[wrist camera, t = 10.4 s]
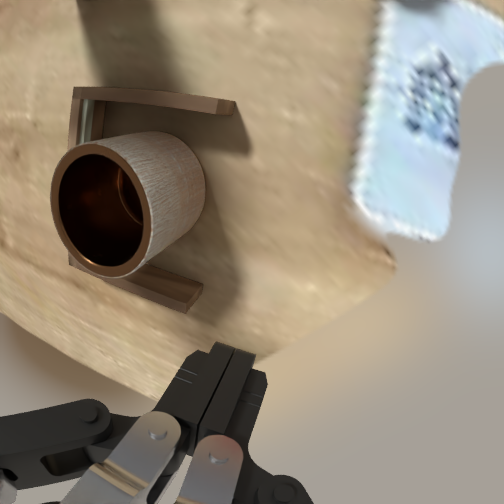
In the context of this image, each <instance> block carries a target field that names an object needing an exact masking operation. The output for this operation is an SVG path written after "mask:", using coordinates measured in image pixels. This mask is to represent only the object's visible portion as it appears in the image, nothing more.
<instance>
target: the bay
mask: <svg viewBox="0 0 504 504" xmlns="http://www.w3.org/2000/svg"><path fill="white" fill-rule="evenodd" d="M106 101H118V102H129V103H139V104H148V105H156V106H164V107H172V108H179V109H186V110H192V111H199V112H205V113H211V114H224V115H233V110H234V105H235V101H230V100H224V99H218V98H211V97H205V96H198V95H190V94H182V93H174V92H165V91H155V90H143V89H130V88H112V87H74V89H73V96H72V104H71V113H70V123H69V135H68V150H67V152H68V151H69V150H70V149H71V148H73V147H75V146H76V145H79V144H82V143H85V142H90V141H95V140H100V139H102V131H103V122H104V114H105V106H106ZM68 256H69V265H71V266H73V267H75V268H77V269H79V270H82V271H84V272H86V273H88V274H90V275H93V276H95V277H97V278H99V279H102V280H104V281H106V282H108V283H111V284H113V285H115V286H118V287H120V288H122V289H125V290H127V291H129V292H132V293H134V294H137V295H139V296H141V297H144V298H146V299H149V300H151V301H154V302H156V303H159V304H161V305H164V306H166V307H169V308H171V309H174V310H177V311H179V312H182V313H184V314H186V312H187V311H188V310H189V309H190V307H191V306H192V305H193V304H194V302H195V301H196V300H197V299H198V297H199V296H200V295H201V293H202V286H203V284H201V283H198V282H195V281H192V280H190V279H187V278H184V277H181V276H178V275H175V274H173V273H170V272H167V271H164V270H162V269H159V268H156V267H153V266H151V265H148V264H144V265H142V266H141V267H140V268H139V269H137V270H136V271H135V272H133V273H131V274H129V275H127V276H125V277H121V278H106V277H102V276H99V275H97V274H94V273H92V272H90V271H89V270H87V269H86V268H84V267H83V266H82V265H81V264H79V263H78V262H77V261H76V260H75V259H74V258H73V256H72V255H71V254H70V253H69V251H68Z"/></svg>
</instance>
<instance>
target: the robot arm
mask: <svg viewBox="0 0 504 504" xmlns="http://www.w3.org/2000/svg"><path fill="white" fill-rule="evenodd" d="M235 349H236V348H234V347H231V346H228V345H225V344H222V343H219V342H215V344H214V345H213V347H212V349H211V351H210V353H209V354H208V353H205V352H202V351H200V350H197V351H195V352H194V353H192V354H191V355H189V356H188V357H187V358H186V359H185V361H184V362H183V364H182V366H181V367H180V369H179V370H178V372H177V373H176V375H175V377H174V378H173V380H172V381H171V383H170V384H169V386H168V388H167V389H166V391H165V392H164V394H163V396H162V397H161V399H160V400H159V402H158V403H157V405H156V407H155V408H154V409H153V410H152V411H151V412H148V413H146V414H144V415H142V416H139V417H129V416H122V415H117V414H112V413H110V412H109V410H108V408H107V407H106V406H105V405H104V404H103V403H101V402H100V401H97V400H94V399H83V400H79V401H74V402H71V403H66V404H62V405H57V406H53V407H49V408H44V409H39V410H34V411H30V412H25V413H19V414H14V415H9V416H3V417H0V504H12V503H13V502H15V500H16V495H17V490H21V489H28V488H33V487H38V486H44V485H49V484H53V483H58V482H62V481H66V480H71V479H75V478H79V477H81V478H80V479H79V481H78V482H77V483H76V484H75V485H74V487H73V488H72V489H71V491H69V493H68V494H67V495H66V496H65V498H64V499H63V500H62V501H61V502H57V501H56V502H47V503H42V504H158V502H159V501H160V499H161V498H162V496H163V495H164V493H165V491H166V490H167V488H168V487H169V485H170V484H171V482H172V480H173V479H174V477H175V476H176V474H177V472H178V470H179V467H180V465H181V464H182V462H183V459H184V457H185V455H186V454H187V455H189V456H192V461H191V463H190V465H189V468H188V471H187V474H186V476H185V479H184V482H183V484H182V487H181V490H180V492H179V495H178V497H177V500H176V502H175V503H174V504H314V503H313V502H312V501H311V498H310V497H309V495H308V493H307V492H306V490H305V488H304V487H303V485H302V484H301V483H300V482H299V481H298V480H296V479H295V478H293V477H290V476H286V475H275V476H273V475H272V474H270V473H268V472H267V471H265V470H263V469H262V468H260V467H259V466H257V465H256V464H255V463H254V461H253V460H252V459H251V457H250V455H249V452H248V443H249V439H250V436H251V433H252V431H253V428H254V425H255V422H256V419H257V416H258V413H259V410H260V407H261V403H262V401H263V398H264V394H265V391H266V388H267V385H268V384H267V379H266V374H265V372H262V371H258V370H255V369H252V367H253V364H254V360H255V357H256V354H253V353H249V352H246V351H243V350H240V349H236V350H235Z"/></svg>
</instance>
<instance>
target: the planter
mask: <svg viewBox="0 0 504 504" xmlns="http://www.w3.org/2000/svg"><path fill="white" fill-rule="evenodd" d="M205 195H206V185H205V178H204V174H203V170H202V167H201V165H200V163H199V161H198V159H197V157H196V156H195V154H194V153H193V151H192V150H191V149H190V148H189V147H188V146H187V145H186V144H185V143H184V142H183V141H181V140H180V139H179V138H177V137H175V136H173V135H171V134H168V133H164V132H158V131H146V132H139V133H133V134H127V135H122V136H116V137H111V138H106V139H100V140H95V141H90V142H85V143H82V144H79V145H76V146H75V147H73V148H71V149H70V150H69V151H68V152H67V153H66V154H65V155H64V156H63V157H62V158H61V160H60V161H59V163H58V165H57V167H56V169H55V172H54V175H53V178H52V183H51V192H50V202H51V211H52V216H53V220H54V224H55V227H56V230H57V232H58V234H59V236H60V239H61V240H62V242H63V244H64V246H65V247H66V249H67V250H68V251H69V253H70V254H71V255H72V256H73V258H74V259H75V260H76V261H77V262H78V263H79V264H81V265H82V266H83V267H84V268H86V269H87V270H89V271H90V272H92V273H94V274H97V275H99V276H102V277H106V278H121V277H125V276H127V275H129V274H131V273H133V272H135V271H136V270H137V269H139V268H140V267H141V266H142V265H144V264H145V263H146V262H148V261H149V260H150V259H151V258H153V257H154V256H155V255H157V254H158V253H159V252H161V251H162V250H163V249H165V248H166V247H168V246H169V245H170V244H172V243H173V242H174V241H176V240H177V239H179V238H180V237H181V236H183V235H184V234H185V233H187V232H188V231H189V230H190V229H191V228H192V227H193V225H194V224H195V223H196V221H197V220H198V218H199V216H200V214H201V212H202V209H203V206H204V203H205Z"/></svg>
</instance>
